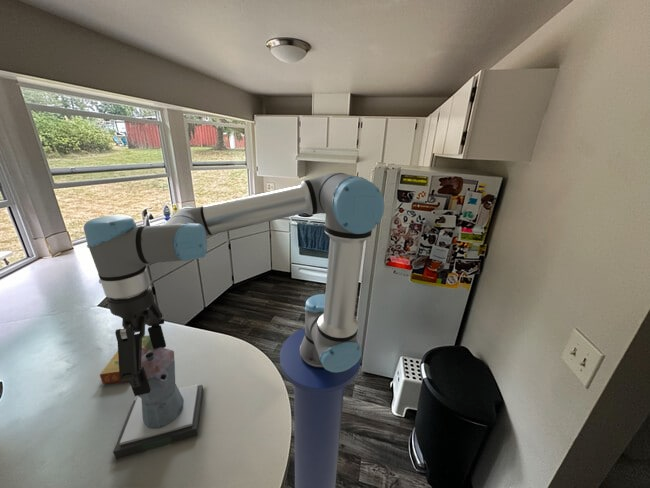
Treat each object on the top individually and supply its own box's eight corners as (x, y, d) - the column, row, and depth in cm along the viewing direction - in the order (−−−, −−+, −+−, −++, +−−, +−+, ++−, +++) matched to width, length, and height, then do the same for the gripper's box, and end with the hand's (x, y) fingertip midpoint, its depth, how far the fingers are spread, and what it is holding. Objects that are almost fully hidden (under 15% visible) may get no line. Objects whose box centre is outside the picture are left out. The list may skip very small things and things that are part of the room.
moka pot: (159, 446, 57) (139, 382, 50) (127, 410, 64) (106, 349, 57) (198, 412, 65) (186, 352, 57) (165, 383, 72) (151, 327, 65)
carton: (102, 385, 74) (98, 374, 73) (129, 346, 89) (126, 336, 87) (133, 380, 76) (130, 370, 74) (155, 343, 91) (153, 333, 89)
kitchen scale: (203, 390, 74) (201, 382, 73) (197, 436, 62) (195, 427, 61) (135, 406, 69) (132, 398, 67) (115, 460, 57) (111, 450, 56)
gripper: (130, 267, 61) (149, 335, 69) (71, 334, 39) (109, 424, 47) (164, 263, 64) (180, 330, 71) (127, 325, 42) (155, 412, 49)
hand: (152, 368), depth 59 cm, fingers open, 13 cm apart
